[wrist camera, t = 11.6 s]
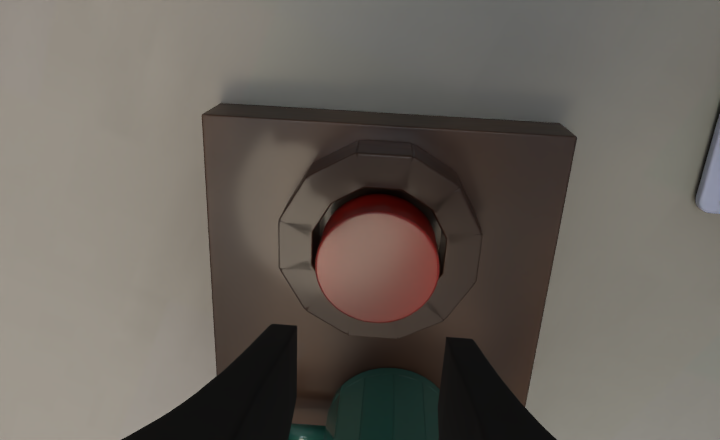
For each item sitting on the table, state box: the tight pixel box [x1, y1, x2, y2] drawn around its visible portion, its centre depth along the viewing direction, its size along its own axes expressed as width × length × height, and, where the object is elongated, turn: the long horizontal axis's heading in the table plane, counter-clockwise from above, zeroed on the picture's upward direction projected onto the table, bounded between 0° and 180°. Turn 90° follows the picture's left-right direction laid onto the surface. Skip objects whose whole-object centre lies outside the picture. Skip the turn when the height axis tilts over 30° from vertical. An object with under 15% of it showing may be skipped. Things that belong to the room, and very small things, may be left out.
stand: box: [202, 103, 577, 426], centre depth 23 cm, size 13×18×4 cm
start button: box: [315, 194, 440, 323], centre depth 19 cm, size 4×4×2 cm
